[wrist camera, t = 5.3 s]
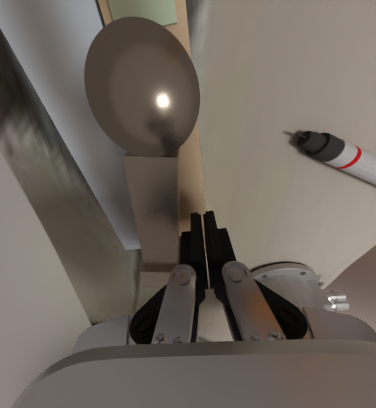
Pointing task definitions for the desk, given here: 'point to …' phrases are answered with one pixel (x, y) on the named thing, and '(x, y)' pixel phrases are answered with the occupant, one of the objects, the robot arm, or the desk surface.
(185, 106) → the door handle
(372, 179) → the marker
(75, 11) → the doorframe
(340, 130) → the desk surface
